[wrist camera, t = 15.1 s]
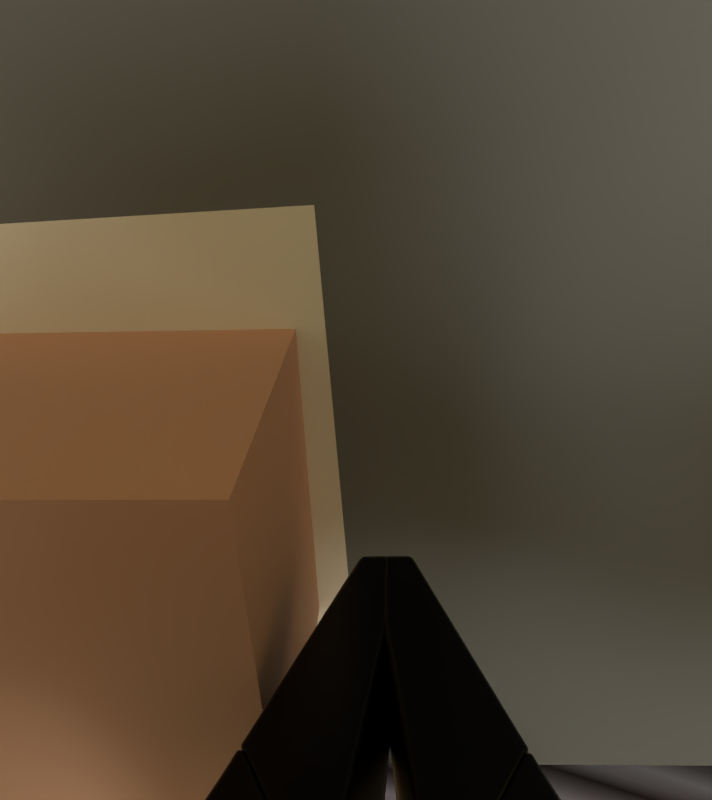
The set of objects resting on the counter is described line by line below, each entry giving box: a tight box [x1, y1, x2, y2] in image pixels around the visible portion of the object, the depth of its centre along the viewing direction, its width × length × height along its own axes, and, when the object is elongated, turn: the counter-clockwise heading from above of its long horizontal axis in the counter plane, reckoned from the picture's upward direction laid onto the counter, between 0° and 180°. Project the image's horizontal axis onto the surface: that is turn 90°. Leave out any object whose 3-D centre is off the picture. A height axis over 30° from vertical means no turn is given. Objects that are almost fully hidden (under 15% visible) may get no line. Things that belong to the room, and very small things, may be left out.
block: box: [0, 329, 319, 800], centre depth 9 cm, size 6×6×4 cm
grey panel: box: [0, 0, 712, 766], centre depth 11 cm, size 16×30×1 cm, turn 94°
